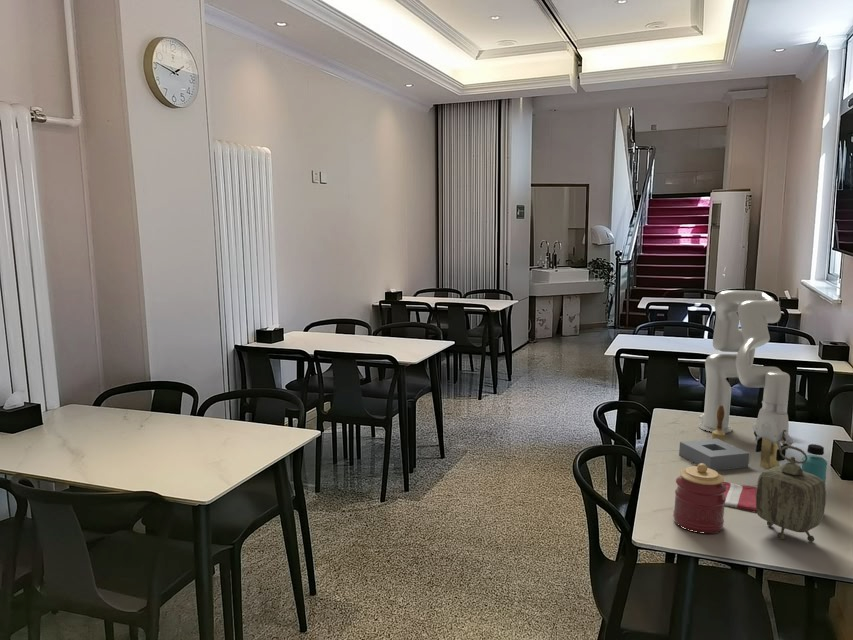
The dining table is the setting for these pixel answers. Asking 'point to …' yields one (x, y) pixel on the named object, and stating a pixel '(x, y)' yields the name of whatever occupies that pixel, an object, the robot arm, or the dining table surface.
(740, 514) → the dining table surface
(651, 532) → the dining table surface
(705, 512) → the canister
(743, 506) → the dish towel
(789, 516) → the tabletop clock
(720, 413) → the hand bell
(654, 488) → the dining table surface
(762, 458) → the wooden square peg
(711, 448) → the well block
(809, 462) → the beverage bottle
